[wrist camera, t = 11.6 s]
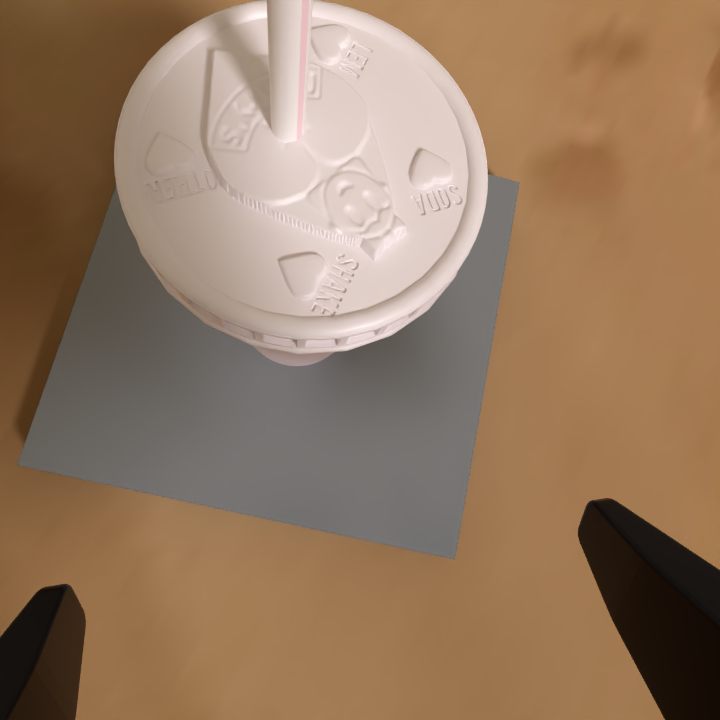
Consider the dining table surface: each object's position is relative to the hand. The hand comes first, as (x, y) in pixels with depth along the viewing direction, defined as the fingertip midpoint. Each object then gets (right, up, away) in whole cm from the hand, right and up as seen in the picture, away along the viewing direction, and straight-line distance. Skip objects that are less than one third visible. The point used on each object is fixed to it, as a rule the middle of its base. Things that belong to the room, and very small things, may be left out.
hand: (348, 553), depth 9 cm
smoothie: (-2, +5, +9) cm, 11 cm away
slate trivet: (-2, +5, +10) cm, 12 cm away
